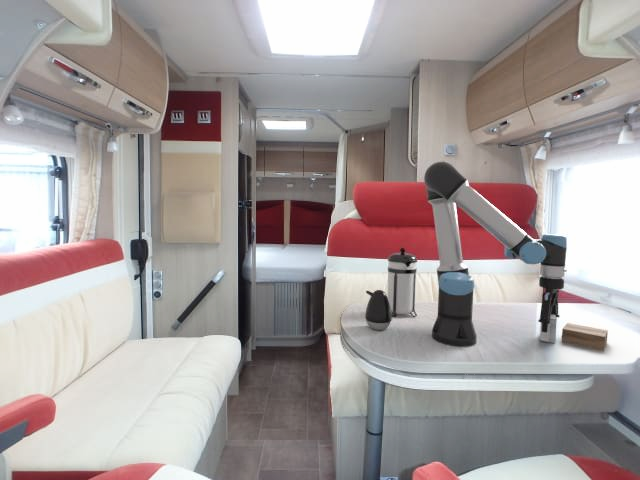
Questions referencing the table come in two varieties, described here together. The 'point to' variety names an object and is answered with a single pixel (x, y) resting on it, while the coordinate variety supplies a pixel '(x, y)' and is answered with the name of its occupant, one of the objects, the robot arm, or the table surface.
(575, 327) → the walnut block
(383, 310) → the pump dispenser
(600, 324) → the table surface
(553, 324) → the medicine box
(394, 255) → the coffee press
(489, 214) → the robot arm
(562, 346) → the table surface
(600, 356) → the table surface
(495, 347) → the table surface
